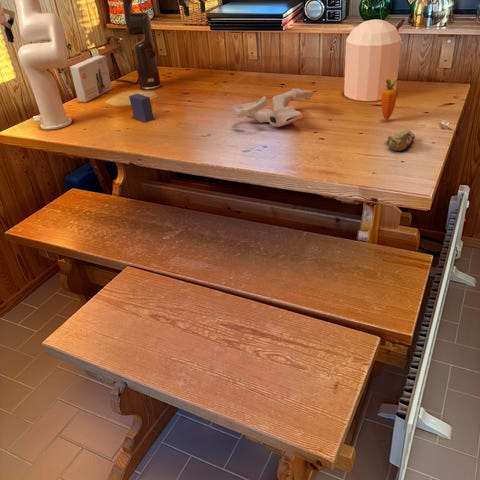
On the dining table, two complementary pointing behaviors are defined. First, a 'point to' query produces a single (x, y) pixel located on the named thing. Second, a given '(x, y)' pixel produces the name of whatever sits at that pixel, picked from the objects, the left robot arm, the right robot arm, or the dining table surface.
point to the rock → (400, 140)
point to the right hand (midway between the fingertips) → (195, 14)
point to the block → (141, 107)
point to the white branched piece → (280, 112)
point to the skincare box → (91, 78)
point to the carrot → (388, 99)
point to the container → (371, 60)
